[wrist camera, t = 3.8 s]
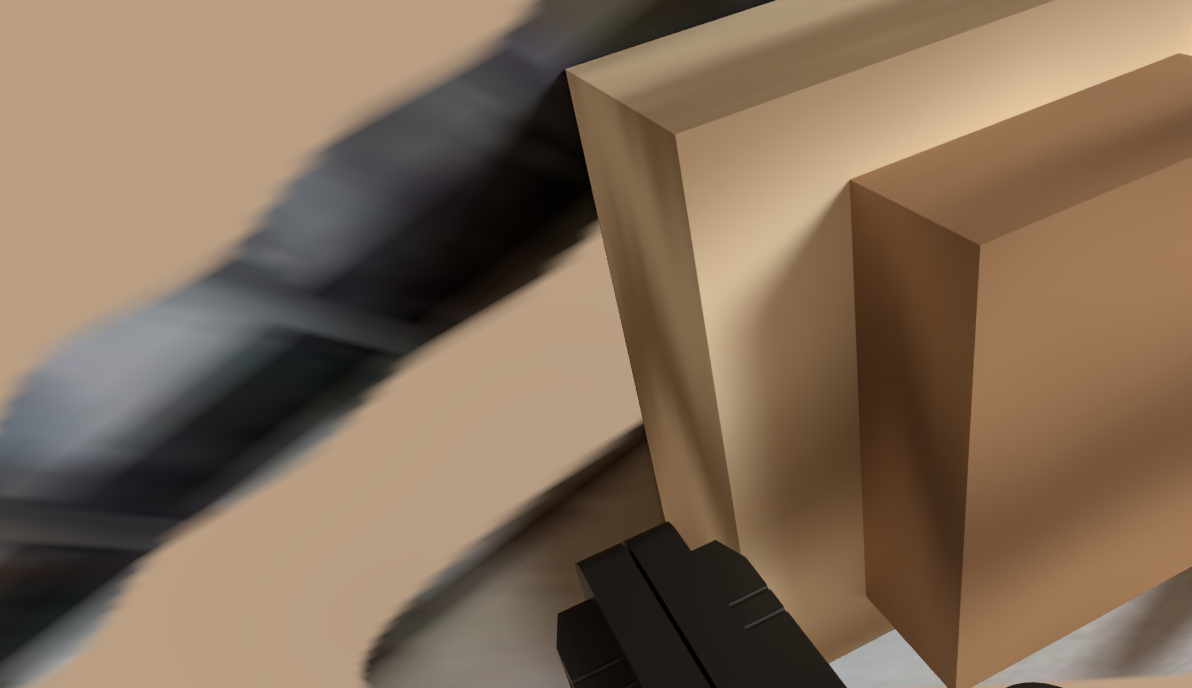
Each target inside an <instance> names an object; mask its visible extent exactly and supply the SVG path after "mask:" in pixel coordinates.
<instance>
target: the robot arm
mask: <svg viewBox="0 0 1192 688" xmlns="http://www.w3.org/2000/svg"><path fill="white" fill-rule="evenodd" d="M575 565H576V570H577V573H578V576H579V579H580V583H581V586H582V589H583V592H584V595H585V599H586V601H584V602H582V603H580V604H578V605H575V606H573V607H571V608H569V609H567V610H565V611H563V612H561V613H558V622H557V650H558V653H559V656H560V659H561V662H562V664H563V667H564V670H565V673H566V675H567V678H568V681H569V684H570V686H571V688H847V687H846V686H845V685H844V683H843V682H842V681H841V679H840V678H839V677H838V676H837V674H836V673H835V672H834V670H833V669H832V668H831V666H830V665H829V664H828V663H827V661H826V660H825V659H824V657H823V656H822V655H821V654H820V652H819V651H818V650H817V648H816V647H815V646H814V645H813V643H812V642H811V641H810V639H809V638H808V637H807V635H806V634H805V633H804V632H803V630H802V629H801V628H800V626H799V625H798V624H797V623H796V621H795V620H794V619H793V617H792V616H791V615H790V613H789V612H788V611H787V612H786V610H785V609H784V606H783V604H782V603H781V602H780V601H779V599H778V598H777V597H776V595H775V594H774V593H773V592H772V590H771V589H770V590H769V588H768V586H767V584H766V582H765V581H764V580H763V579H762V577H761V576H760V575H759V573H758V572H757V571H756V570H755V568H754V567H753V566H752V564H751V563H750V562H749V560H748V559H747V558H746V557H745V556H743V555H741V554H739V553H738V552H736V551H734V550H733V549H731V548H729V547H727V546H726V545H724V544H722V543H720V542H719V541H717V540H714V541H712V542H710V543H707V544H705V545H703V546H701V547H699V548H697V549H695V550H692V551H691V550H690V548H689V547H688V545H687V544H686V543H685V541H684V540H683V538H682V537H681V536H680V534H679V533H678V531H677V530H676V529H675V527H674V526H673V525H672V524H671V523H670V522H668V521H667V522H665V523H663V524H660V525H658V526H656V527H654V528H652V529H650V530H647V531H645V532H643V533H641V534H639V535H636V536H634V537H632V538H630V539H628V540H625V541H624V542H623V545H622V544H621V543H619V544H617V545H615V546H613V547H611V548H608V549H606V550H604V551H602V552H600V553H598V554H595V555H593V556H591V557H589V558H587V559H584V560H582V561H580V562H578V563H576V564H575ZM1007 688H1061V687H1058V686H1054V685H1050V684H1046V683H1036V682H1031V683H1020V684H1015V685H1012V686H1009V687H1007Z"/></svg>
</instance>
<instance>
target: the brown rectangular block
mask: <svg viewBox="0 0 1192 688" xmlns="http://www.w3.org/2000/svg"><path fill="white" fill-rule="evenodd" d="M850 198H851V223H852V249H853V275H854V300H855V326H856V352H857V378H858V403H859V429H860V455H861V480H862V506H863V532H864V557H865V583H866V597H867V598H868V599H869V600H870V601H871V602H872V603H873V605H874V606H875V607H876V608H877V609H878V610H879V611H880V612H881V613H882V615H883V616H884V617H885V618H886V619H887V620H888V621H889V622H890V624H891V625H892V626H893V627H894V628H895V629H896V630H897V631H898V632H899V634H900V635H901V636H902V637H903V638H904V639H905V640H906V641H907V643H908V644H909V645H910V646H911V647H912V648H913V649H914V650H915V651H916V653H917V654H918V655H919V656H920V657H921V658H922V659H923V660H924V662H925V663H926V664H927V665H928V666H929V667H930V668H931V669H932V670H933V672H934V673H935V674H936V675H937V676H938V677H939V678H940V679H941V681H942V682H943V683H944V684H945V685H946V686H947V687H948V688H971V687H973V686H975V685H977V684H978V683H980V682H982V681H984V680H986V679H988V678H989V677H991V676H993V675H995V674H997V673H998V672H1000V671H1002V670H1004V669H1006V668H1008V667H1009V666H1011V665H1013V664H1015V663H1017V662H1019V661H1020V660H1022V659H1024V658H1026V657H1028V656H1030V655H1031V654H1033V653H1035V652H1037V651H1039V650H1040V649H1042V648H1044V647H1046V646H1048V645H1050V644H1051V643H1053V642H1055V641H1057V640H1059V639H1061V638H1062V637H1064V636H1066V635H1068V634H1070V633H1071V632H1073V631H1075V630H1077V629H1079V628H1081V627H1082V626H1084V625H1086V624H1088V623H1090V622H1092V621H1093V620H1095V619H1097V618H1099V617H1101V616H1102V615H1104V614H1106V613H1108V612H1110V611H1112V610H1113V609H1115V608H1117V607H1119V606H1121V605H1123V604H1124V603H1126V602H1128V601H1130V600H1132V599H1133V598H1135V597H1137V596H1139V595H1141V594H1143V593H1144V592H1146V591H1148V590H1150V589H1152V588H1154V587H1155V586H1157V585H1159V584H1161V583H1163V582H1165V581H1166V580H1168V579H1170V578H1172V577H1174V576H1175V575H1177V574H1179V573H1181V572H1183V571H1185V570H1186V569H1188V568H1190V567H1192V56H1190V55H1185V54H1180V53H1178V54H1175V55H1173V56H1170V57H1168V58H1165V59H1162V60H1160V61H1157V62H1155V63H1152V64H1149V65H1147V66H1144V67H1142V68H1139V69H1136V70H1134V71H1131V72H1128V73H1126V74H1123V75H1121V76H1118V77H1115V78H1113V79H1110V80H1108V81H1105V82H1102V83H1100V84H1097V85H1095V86H1092V87H1089V88H1087V89H1084V90H1082V91H1079V92H1076V93H1074V94H1071V95H1069V96H1066V97H1063V98H1061V99H1058V100H1056V101H1053V102H1050V103H1048V104H1045V105H1043V106H1040V107H1037V108H1035V109H1032V110H1030V111H1027V112H1024V113H1022V114H1019V115H1017V116H1014V117H1011V118H1009V119H1006V120H1004V121H1001V122H998V123H996V124H993V125H990V126H988V127H985V128H983V129H980V130H977V131H975V132H972V133H970V134H967V135H964V136H962V137H959V138H957V139H954V140H951V141H949V142H946V143H944V144H941V145H938V146H936V147H933V148H931V149H928V150H925V151H923V152H920V153H918V154H915V155H912V156H910V157H907V158H905V159H902V160H899V161H897V162H894V163H892V164H889V165H886V166H884V167H881V168H879V169H876V170H873V171H871V172H868V173H866V174H863V175H860V176H858V177H855V178H852V179H850Z"/></svg>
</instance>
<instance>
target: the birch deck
mask: <svg viewBox="0 0 1192 688" xmlns="http://www.w3.org/2000/svg"><path fill="white" fill-rule="evenodd" d="M1178 53H1180V54H1185V55H1190V56H1192V0H776V1H773V2H770V3H767V4H764V5H761V6H758V7H754V8H751V9H748V10H745V11H742V12H739V13H736V14H733V15H730V16H727V17H724V18H721V19H718V20H715V21H712V22H708V23H705V24H702V25H699V26H696V27H693V28H690V29H687V30H684V31H681V32H678V33H675V34H672V35H669V36H665V37H662V38H659V39H656V40H653V41H650V42H647V43H644V44H641V45H638V46H635V47H632V48H629V49H626V50H623V51H619V52H616V53H613V54H610V55H607V56H604V57H601V58H598V59H595V60H592V61H589V62H586V63H583V64H580V65H577V66H573V67H570V68H567V69H565V70H566V75H567V79H568V84H569V88H570V93H571V97H572V102H573V106H574V111H575V115H576V120H577V124H578V129H579V133H580V138H581V142H582V147H583V152H584V156H585V161H586V165H587V170H588V174H589V179H590V183H591V188H592V192H593V197H594V201H595V206H596V210H597V215H598V219H599V224H600V228H601V233H602V237H603V241H604V246H605V251H606V255H607V260H608V264H609V269H610V273H611V278H612V282H613V286H614V291H615V296H616V300H617V305H618V309H619V314H620V319H621V323H622V328H623V332H624V337H625V341H626V345H627V350H628V355H629V359H630V364H631V368H632V373H633V377H634V382H635V386H636V391H637V395H638V400H639V404H640V409H641V413H642V418H643V422H644V427H645V432H646V436H647V441H648V445H649V450H650V454H651V459H652V463H653V468H654V472H655V477H656V481H657V486H658V490H659V495H660V499H661V504H662V508H663V513H664V517H665V522H667V521H668V522H670V523H671V524H672V525H673V526H674V527H675V529H676V530H677V531H678V533H679V534H680V536H681V537H682V538H683V540H684V541H685V543H686V544H687V545H688V547H689V548H690V550H691V551H692V550H695V549H697V548H699V547H701V546H703V545H705V544H707V543H710V542H712V541H714V540H717V541H719V542H720V543H722V544H724V545H726V546H727V547H729V548H731V549H733V550H734V551H736V552H738V553H739V554H741V555H743V556H745V557H746V558H747V559H748V560H749V562H750V563H751V564H752V566H753V567H754V568H755V570H756V571H757V572H758V573H759V575H760V576H761V577H762V579H763V580H764V581H765V582H766V584H767V586H768V588H769V590H770V589H771V590H772V592H773V593H774V594H775V595H776V597H777V598H778V599H779V601H780V602H781V603H782V604H783V606H784V609H785V610H786V612H787V611H788V612H789V613H790V615H791V616H792V617H793V619H794V620H795V621H796V623H797V624H798V625H799V626H800V628H801V629H802V630H803V632H804V633H805V634H806V635H807V637H808V638H809V639H810V641H811V642H812V643H813V645H814V646H815V647H816V648H817V650H818V651H819V652H820V654H821V655H822V656H823V657H824V659H825V660H826V661H827V663H830V662H832V661H834V660H836V659H838V658H840V657H842V656H844V655H846V654H848V653H850V652H851V651H853V650H855V649H857V648H859V647H861V646H863V645H865V644H867V643H869V642H871V641H873V640H875V639H877V638H878V637H880V636H882V635H884V634H886V633H888V632H890V631H892V630H894V629H895V628H894V627H893V626H892V625H891V624H890V622H889V621H888V620H887V619H886V618H885V617H884V616H883V615H882V613H881V612H880V611H879V610H878V609H877V608H876V607H875V606H874V605H873V603H872V602H871V601H870V600H869V599H868V598H867V597H866V583H865V557H864V532H863V506H862V480H861V455H860V429H859V403H858V378H857V352H856V326H855V300H854V275H853V249H852V223H851V198H850V179H852V178H855V177H858V176H860V175H863V174H866V173H868V172H871V171H873V170H876V169H879V168H881V167H884V166H886V165H889V164H892V163H894V162H897V161H899V160H902V159H905V158H907V157H910V156H912V155H915V154H918V153H920V152H923V151H925V150H928V149H931V148H933V147H936V146H938V145H941V144H944V143H946V142H949V141H951V140H954V139H957V138H959V137H962V136H964V135H967V134H970V133H972V132H975V131H977V130H980V129H983V128H985V127H988V126H990V125H993V124H996V123H998V122H1001V121H1004V120H1006V119H1009V118H1011V117H1014V116H1017V115H1019V114H1022V113H1024V112H1027V111H1030V110H1032V109H1035V108H1037V107H1040V106H1043V105H1045V104H1048V103H1050V102H1053V101H1056V100H1058V99H1061V98H1063V97H1066V96H1069V95H1071V94H1074V93H1076V92H1079V91H1082V90H1084V89H1087V88H1089V87H1092V86H1095V85H1097V84H1100V83H1102V82H1105V81H1108V80H1110V79H1113V78H1115V77H1118V76H1121V75H1123V74H1126V73H1128V72H1131V71H1134V70H1136V69H1139V68H1142V67H1144V66H1147V65H1149V64H1152V63H1155V62H1157V61H1160V60H1162V59H1165V58H1168V57H1170V56H1173V55H1175V54H1178Z"/></svg>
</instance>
